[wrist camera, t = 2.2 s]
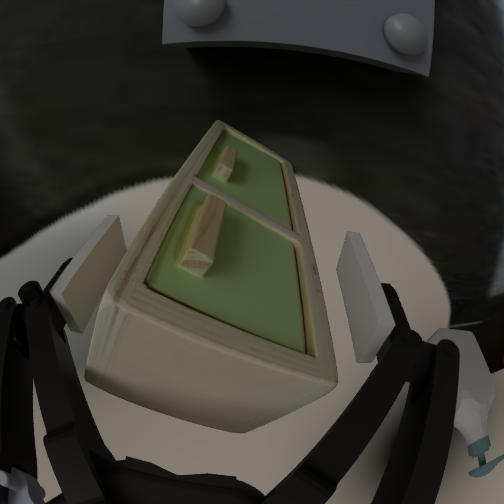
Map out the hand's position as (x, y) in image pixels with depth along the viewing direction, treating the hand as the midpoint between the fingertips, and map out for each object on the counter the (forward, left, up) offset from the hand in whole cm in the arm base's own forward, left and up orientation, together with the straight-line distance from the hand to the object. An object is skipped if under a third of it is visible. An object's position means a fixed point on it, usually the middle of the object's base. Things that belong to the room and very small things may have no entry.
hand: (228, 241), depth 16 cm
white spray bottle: (+38, -26, -12) cm, 47 cm away
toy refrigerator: (0, 0, -12) cm, 12 cm away
